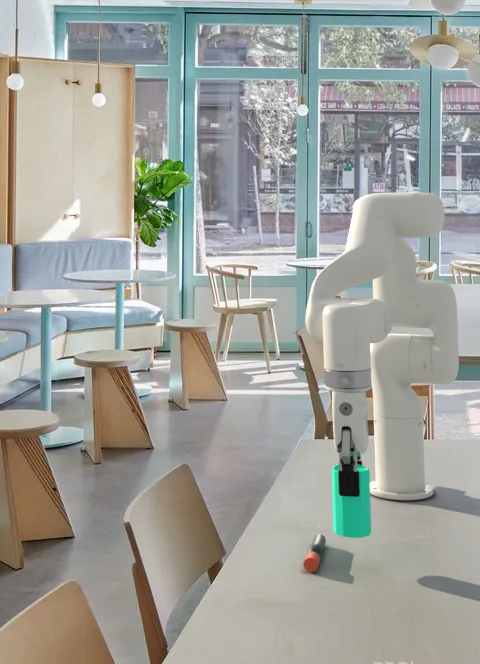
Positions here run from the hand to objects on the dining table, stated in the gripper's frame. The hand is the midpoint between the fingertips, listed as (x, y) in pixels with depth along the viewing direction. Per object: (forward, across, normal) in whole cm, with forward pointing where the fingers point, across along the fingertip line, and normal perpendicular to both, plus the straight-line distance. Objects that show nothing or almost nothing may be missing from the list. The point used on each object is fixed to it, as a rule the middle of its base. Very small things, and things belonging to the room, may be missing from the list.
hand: (351, 489), depth 167 cm
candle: (+7, 0, 0) cm, 7 cm away
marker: (+12, 0, +6) cm, 13 cm away
